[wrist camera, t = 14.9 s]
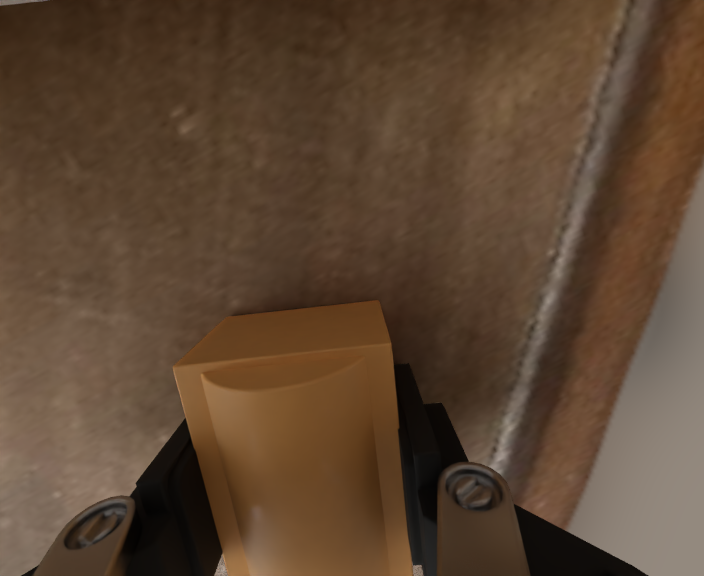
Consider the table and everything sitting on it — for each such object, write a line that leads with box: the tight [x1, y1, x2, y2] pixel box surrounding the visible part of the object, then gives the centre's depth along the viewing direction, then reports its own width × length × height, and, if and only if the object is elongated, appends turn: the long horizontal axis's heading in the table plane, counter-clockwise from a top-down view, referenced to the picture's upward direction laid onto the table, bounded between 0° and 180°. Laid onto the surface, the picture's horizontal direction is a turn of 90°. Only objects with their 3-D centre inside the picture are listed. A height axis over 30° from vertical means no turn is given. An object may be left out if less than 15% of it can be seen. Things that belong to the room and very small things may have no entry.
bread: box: [173, 300, 413, 576], centre depth 9 cm, size 7×5×4 cm, turn 7°
